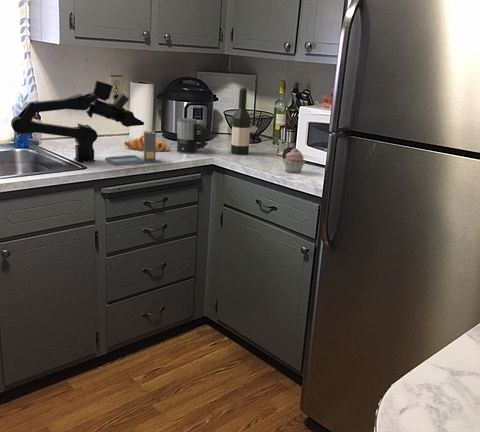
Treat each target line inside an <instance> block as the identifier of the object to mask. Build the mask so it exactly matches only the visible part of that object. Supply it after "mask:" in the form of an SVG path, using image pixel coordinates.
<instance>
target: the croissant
mask: <svg viewBox="0 0 480 432" xmlns="http://www.w3.org/2000/svg"><path fill="white" fill-rule="evenodd" d="M124 146H126V147H127V148H129V149H131V150H134V151H140V152H144V134H143V135H140V138H139V137H136V138H135V139H134V140H131V139H130V140H128V141H124ZM170 149H171V145H168V143H167V142H163V141H161V140H160V139H158V138H156V152H162V151H169V150H170Z"/></svg>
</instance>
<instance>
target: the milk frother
mask: <svg viewBox="0 0 480 432" xmlns="http://www.w3.org/2000/svg"><path fill="white" fill-rule="evenodd" d="M176 121H177V133H176V134H177V144H176V145H177V146H176V152H177V153H182V154H195V153H197V150H199V149H204V148H205V147H206V146H207V145H208V144H209V143H208V142H207V141H206V140H207V139H206V138H207V133H208V132H207V127H206V126H205V125H204V124H202V123H198V119H196V118H187V117H183V118H177V119H176ZM198 129H199V130H200V140H199V141H200V142H197V141H198Z"/></svg>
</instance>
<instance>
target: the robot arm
mask: <svg viewBox="0 0 480 432" xmlns="http://www.w3.org/2000/svg"><path fill="white" fill-rule="evenodd" d="M113 88H114V85H112V84H109V83H106V82H104V81H103V82H102V81H99V80H96V81H95V83H94V88H93V91H92V92H89V93H86V94H83V93H78V94H74V95H71V96H68V97H65V98H60V99H51V100H42V101H41V100H40V101H30V102H28V103H27V105H26V106H25V107H24V109H23V110H22V111H21V112H20V113H19V114H18V115H17V116H14V117H13V118H12V119H11V121H10V126H11V128H12V130H13V131H14V132H15V133H16V134H18V135H23V134H25V135H26V134H35V133H38V134H46V135H51V136H59V137H68V138H74V141H75V143H76V144H75V145H74V146H75V147H74V149H75V157H74V158H73V160H75V161H77V162H79V163H85V162H86V163H87V162H95V148H94V143H95V142H96V141H97V140H98V132H97V131H96V130H95V129H94V128H92V126H90V125H89V124H82V123H79V122H78V123H77V126H73V127H72V126H66V125H59V124H52V123H46V122H45V123H44V122H37V121H35V120H33V119H34V118H35V116H36V114H38V113H42V112H43V113H44V112H51V111H60V110H74V111H85V112H86V114H87V116H88V118H90V119H91V118H93V114H94V115H96V116H97V115H98V116H99V117H103V118H105V119H107V120H110V121H111V120H112V121H113V122H114V121H115V122H116V123H120V125H121V126H123V127H126V128H129V127H137V126H144V125H145V122H144V121H142V119H141V120H140V119H139V118H137V117H135V115H134V112H132V111H131V110H128V109H125V108H124V106H125V105H126V103H128V101H129V100H130V98H129V97H127V96H126V95H125V94H124V93H122V92H120V93H118V94H115V93H114V95H113V96H112V98H113V101H112V103H110V102H109V103H108V102H106V100H107V101H108V100H109V99H110V96H111V94H112V91H113Z"/></svg>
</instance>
